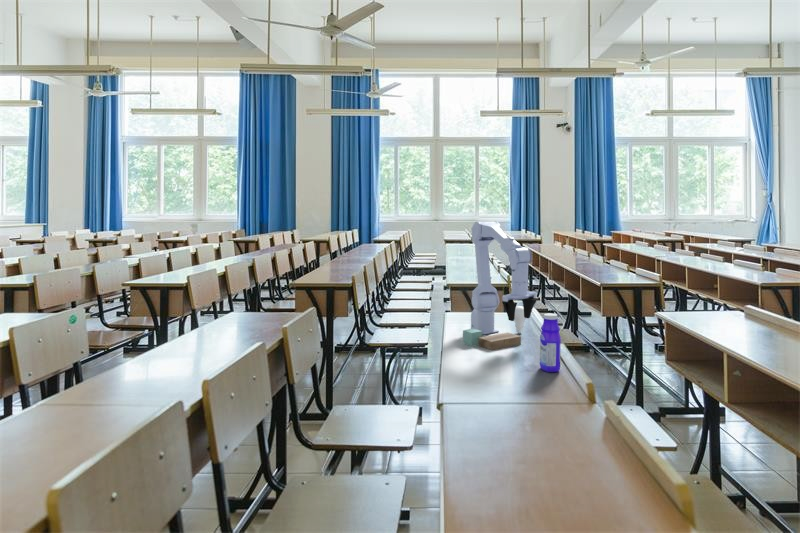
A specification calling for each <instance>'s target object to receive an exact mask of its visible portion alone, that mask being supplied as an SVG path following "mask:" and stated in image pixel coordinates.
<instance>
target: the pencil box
mask: <svg viewBox="0 0 800 533" xmlns="http://www.w3.org/2000/svg"><path fill="white" fill-rule="evenodd" d="M521 344H522V336H521V335H518V334H515V333H511V332H504V333H497V334H491V335H486V336H482V337H479V345H478V346H479V347H481V348H485V349H488V350H490V351H493V350H498V349H502V348H508V347H509V348H510V347H513V346H519V345H521Z"/></svg>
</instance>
